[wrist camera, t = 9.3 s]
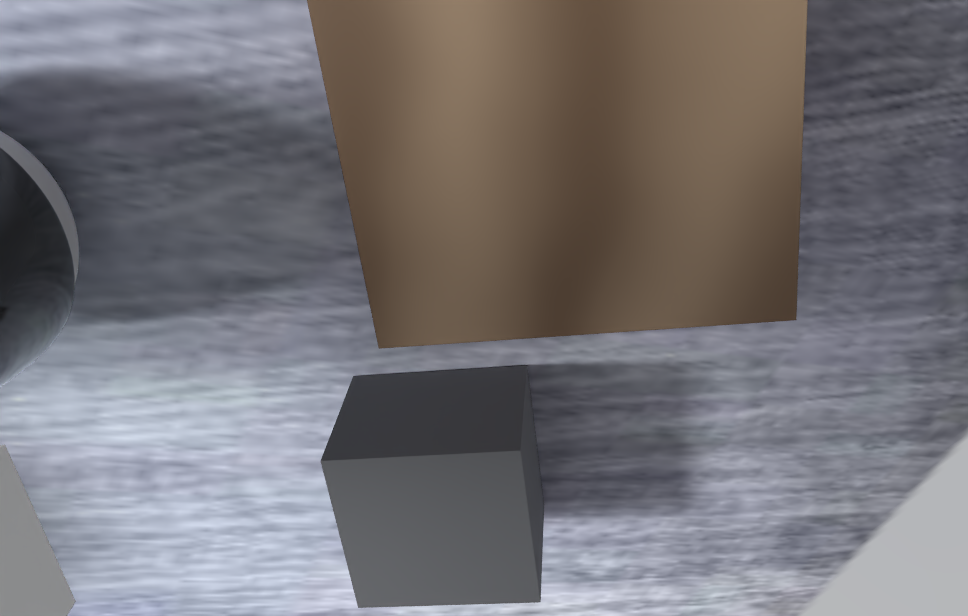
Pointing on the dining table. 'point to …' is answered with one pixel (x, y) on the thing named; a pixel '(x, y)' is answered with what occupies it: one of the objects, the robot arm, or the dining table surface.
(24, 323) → the pump dispenser
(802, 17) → the lid
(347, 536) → the block
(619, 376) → the dining table surface
